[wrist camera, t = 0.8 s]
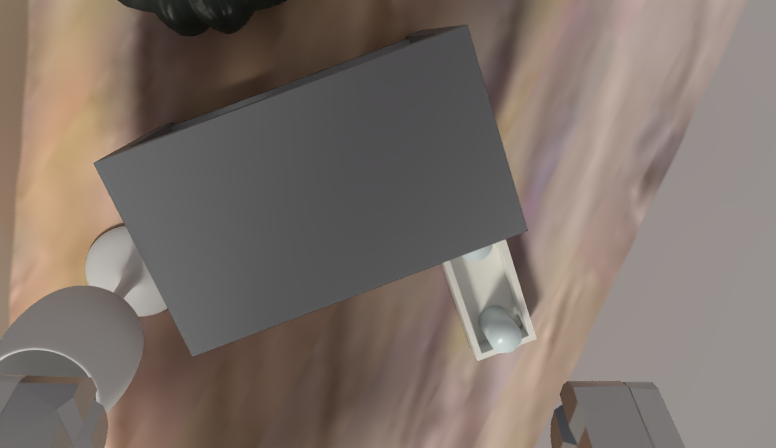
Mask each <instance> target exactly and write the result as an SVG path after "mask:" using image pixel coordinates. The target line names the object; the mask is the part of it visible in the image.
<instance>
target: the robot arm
mask: <svg viewBox="0 0 776 448" xmlns="http://www.w3.org/2000/svg"><path fill="white" fill-rule="evenodd" d="M96 392H97V388H96V386H95V383H94V381H93V379H92V378H91V377H62V376H32V375H0V448H104V447H105V443H106V437H107V430H108V423H107V414H106V411H105V409H104V406H103V405H101V404H100V403H98V402H97V401H95V400H94V397H95V394H96ZM560 397H561V401H562V405H561V406H559V407H558V408H556V409H555V410H554V413H553V417H552V420H551V435H550V437H551V445H552V448H685V446H684V444H683V442H682V440H681V438H680V435H679V433H678V431H677V429H676V427H675V424H674V422H673V420H672V418H671V416H670V413H669V411H668V409H667V407H666V405H665V403H664V400H663V398H662V396H661V394H660V392H659V389H658V387H656V385H655V384H654V383H653V382H621V381H567V382H566V383H565V384H564V385H563V386H562V389H561V392H560Z"/></svg>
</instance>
